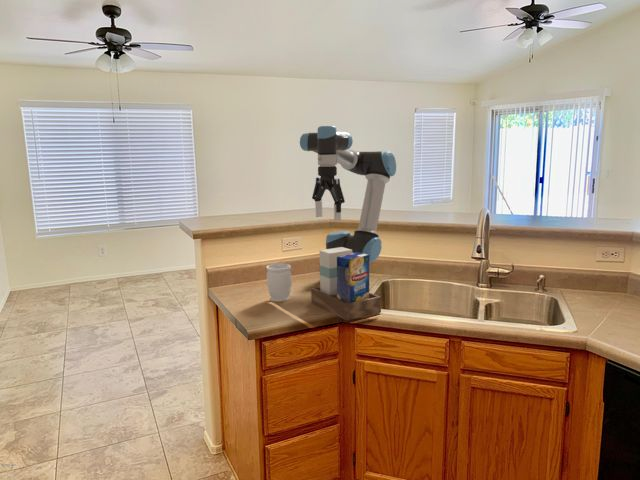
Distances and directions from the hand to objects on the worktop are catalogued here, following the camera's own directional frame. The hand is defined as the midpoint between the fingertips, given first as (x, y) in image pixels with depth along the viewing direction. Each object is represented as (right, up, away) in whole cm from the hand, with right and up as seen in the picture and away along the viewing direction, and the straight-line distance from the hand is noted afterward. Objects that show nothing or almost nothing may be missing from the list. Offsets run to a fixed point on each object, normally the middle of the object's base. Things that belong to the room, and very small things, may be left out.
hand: (327, 218), depth 189 cm
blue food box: (+10, -36, -10) cm, 39 cm away
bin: (+7, -36, -5) cm, 37 cm away
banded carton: (+3, -34, 0) cm, 34 cm away
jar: (-20, -34, +8) cm, 41 cm away
